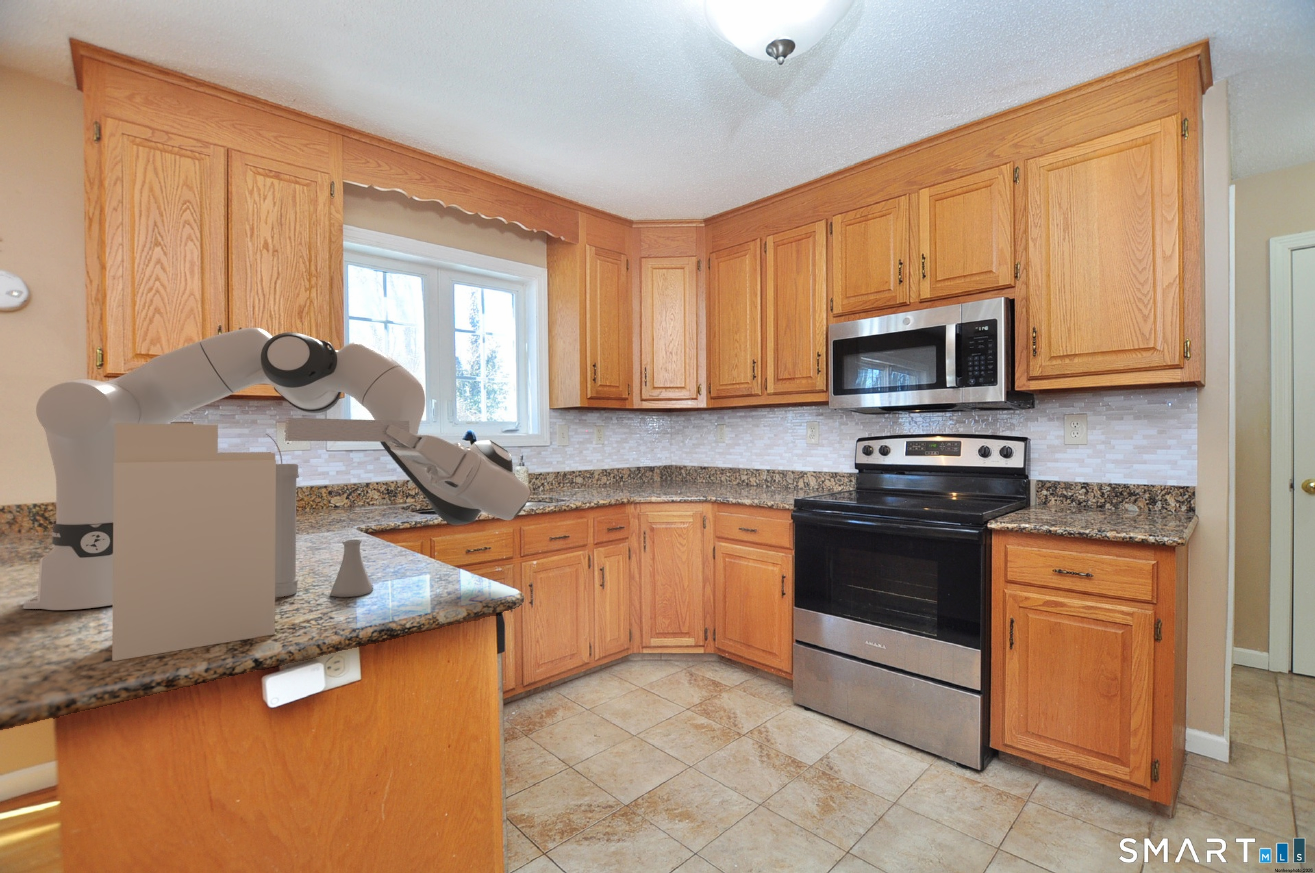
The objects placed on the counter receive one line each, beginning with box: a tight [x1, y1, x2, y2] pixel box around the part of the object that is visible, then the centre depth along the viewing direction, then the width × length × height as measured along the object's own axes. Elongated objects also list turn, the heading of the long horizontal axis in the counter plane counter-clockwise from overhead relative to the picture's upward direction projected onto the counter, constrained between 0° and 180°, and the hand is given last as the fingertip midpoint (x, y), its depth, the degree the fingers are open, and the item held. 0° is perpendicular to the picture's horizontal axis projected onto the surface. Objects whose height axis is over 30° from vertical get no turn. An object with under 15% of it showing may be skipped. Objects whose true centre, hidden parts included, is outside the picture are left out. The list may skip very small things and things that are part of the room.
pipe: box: [265, 433, 300, 599], centre depth 112 cm, size 6×6×30 cm
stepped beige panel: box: [111, 423, 277, 662], centre depth 88 cm, size 10×18×31 cm, turn 128°
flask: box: [329, 538, 374, 598], centre depth 113 cm, size 7×7×10 cm
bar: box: [284, 417, 409, 443], centre depth 100 cm, size 4×18×4 cm, turn 128°
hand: (383, 428), depth 103 cm, fingers closed on bar, 4 cm apart
